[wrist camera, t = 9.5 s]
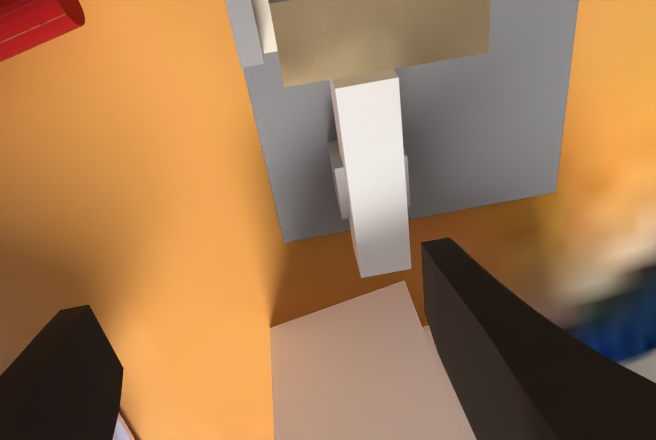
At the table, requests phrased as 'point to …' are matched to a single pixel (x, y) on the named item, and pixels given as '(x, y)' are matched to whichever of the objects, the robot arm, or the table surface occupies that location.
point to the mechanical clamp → (35, 23)
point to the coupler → (373, 35)
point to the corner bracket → (363, 374)
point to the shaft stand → (411, 130)
